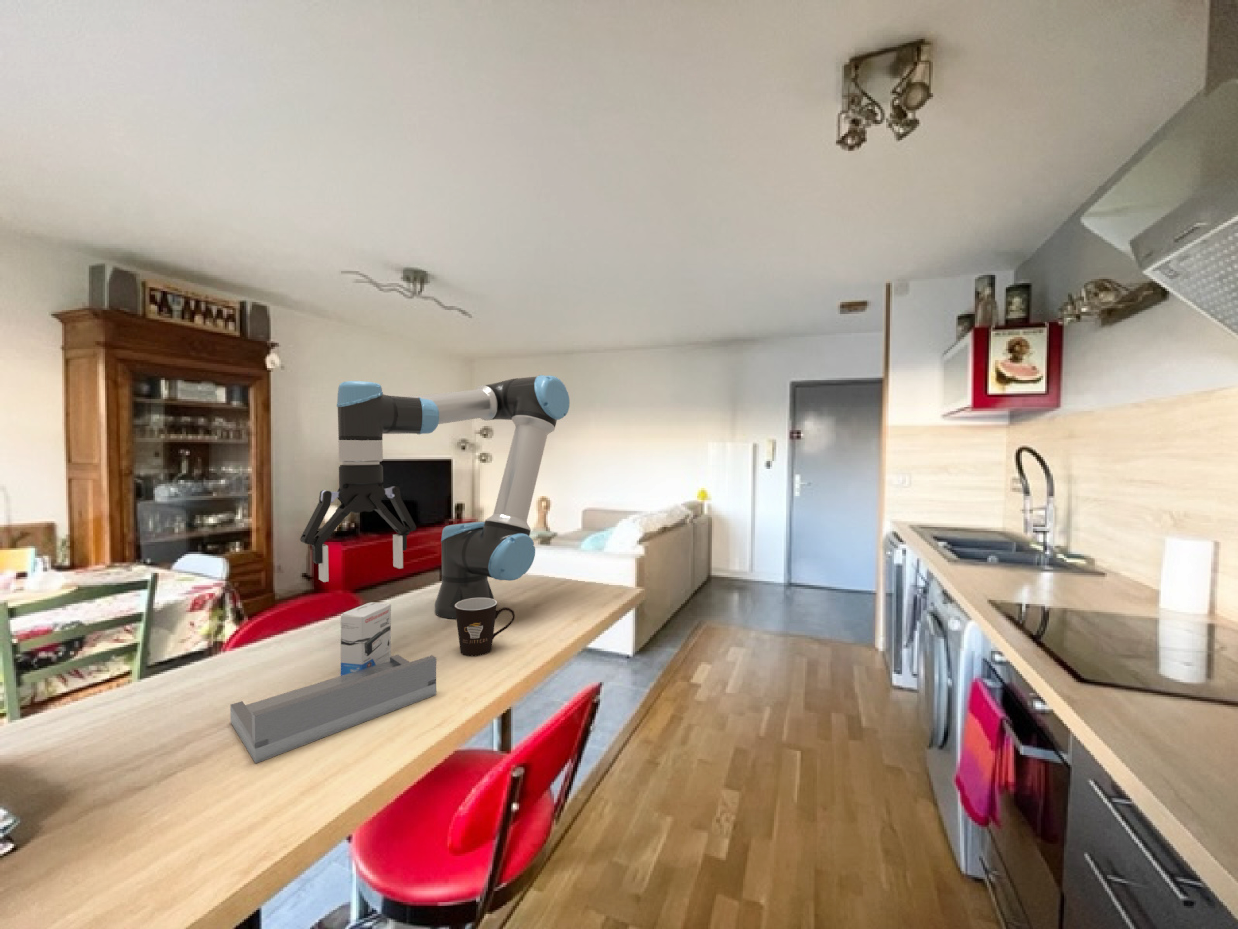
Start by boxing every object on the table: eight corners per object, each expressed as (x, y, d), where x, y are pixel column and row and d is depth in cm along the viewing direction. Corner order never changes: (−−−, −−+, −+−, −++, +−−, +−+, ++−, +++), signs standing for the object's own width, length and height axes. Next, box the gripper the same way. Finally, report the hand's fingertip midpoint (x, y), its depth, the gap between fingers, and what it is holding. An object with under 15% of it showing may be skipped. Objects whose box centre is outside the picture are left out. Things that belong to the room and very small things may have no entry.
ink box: (362, 679, 92) (362, 616, 92) (339, 677, 93) (338, 614, 93) (392, 660, 101) (392, 602, 100) (370, 658, 102) (370, 601, 101)
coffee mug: (446, 656, 103) (446, 608, 103) (468, 640, 111) (468, 596, 111) (498, 662, 100) (498, 613, 100) (516, 646, 109) (516, 600, 108)
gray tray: (397, 668, 97) (397, 635, 97) (436, 694, 87) (436, 657, 87) (230, 722, 78) (230, 681, 77) (255, 763, 67) (254, 716, 67)
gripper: (415, 461, 107) (416, 559, 108) (278, 464, 89) (281, 582, 89) (432, 462, 102) (433, 565, 103) (291, 465, 84) (294, 591, 84)
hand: (362, 573), depth 96 cm, fingers open, 13 cm apart
